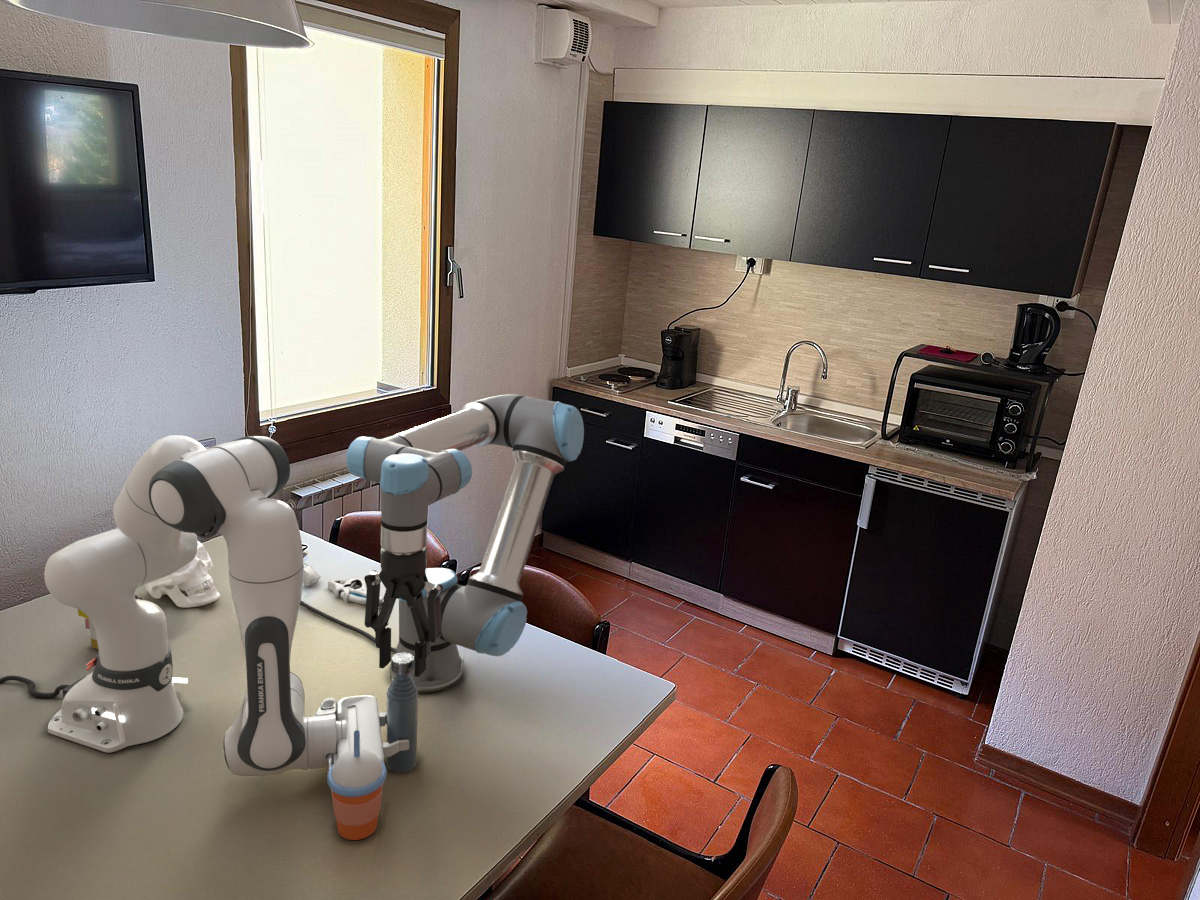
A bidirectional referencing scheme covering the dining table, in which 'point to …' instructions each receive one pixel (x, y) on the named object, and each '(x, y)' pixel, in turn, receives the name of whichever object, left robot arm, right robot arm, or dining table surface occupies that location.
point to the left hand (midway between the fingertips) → (407, 731)
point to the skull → (188, 582)
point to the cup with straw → (357, 791)
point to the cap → (402, 663)
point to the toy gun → (350, 590)
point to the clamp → (310, 576)
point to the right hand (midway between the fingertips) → (402, 668)
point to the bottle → (402, 721)
